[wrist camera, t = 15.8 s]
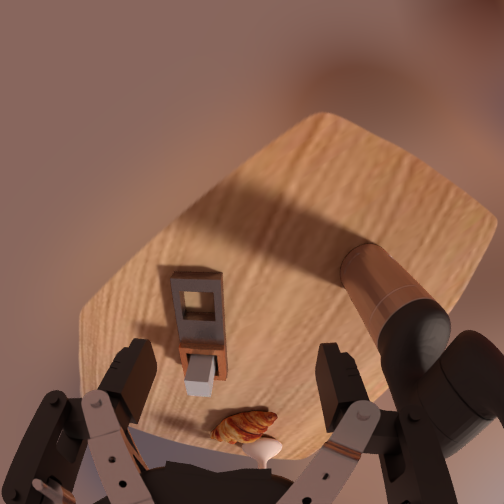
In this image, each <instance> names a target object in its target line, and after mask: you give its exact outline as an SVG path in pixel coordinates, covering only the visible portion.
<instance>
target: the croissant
mask: <svg viewBox="0 0 504 504" xmlns="http://www.w3.org/2000/svg"><path fill="white" fill-rule="evenodd" d="M277 418H278V417H277V415H276V414H275V413H273V412H261V411H251V412H247V413H245V412H244V413H239V414H237V415H233V416H230V417H228V418H225V419H224V420H223V421H222V422H221V424H219V425H218V426H217V427H216V429H214V430H213V431H212V432H211V434H210V438H211V439H215V440H217V441H220V442H221V441H225V442H228V443H230V444H235V443H236V442H237V441H238V442H240V443H252V442H255V441H256V440H258V439H259V438H260V437H261V436H262V434H263V432H265V431H266V430H267V428H268V426H270V425H272V424H273V423H274V421H275V420H276V419H277Z"/></svg>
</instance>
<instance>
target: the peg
mask: <svg viewBox="0 0 504 504" xmlns="http://www.w3.org/2000/svg"><path fill="white" fill-rule="evenodd" d="M216 362H217V355H203V354H191V357H190V361H189V365H188V368H187V372H186V375H185V379H184V382H185V386H186V390H187V394H188V395H192V396H204V397H211V392H212V386H213V380H214V374H215V368H216Z"/></svg>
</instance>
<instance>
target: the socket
mask: <svg viewBox="0 0 504 504" xmlns="http://www.w3.org/2000/svg"><path fill="white" fill-rule="evenodd" d="M170 281H171V288H172V295H173V302H174V308H175V315H176V321H177V327H178V332H179V338H180V345H179V353H180V358H181V362H182V367H183V371H184V376H185V375H186V372H187V368H188V365H189V361H190V357H191V354H203V355H217V359H218V362H216V368H215V374H214V380H224V381H226V378H227V373H228V364H227V349H226V332H225V314H224V295H223V273H212V272H175V271H174V273H173V275H172V276H171V278H170ZM184 291H190V292H214V305H215V313H205V312H186V306H185V299H184Z"/></svg>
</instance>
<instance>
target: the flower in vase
mask: <svg viewBox="0 0 504 504" xmlns="http://www.w3.org/2000/svg"><path fill="white" fill-rule="evenodd" d="M242 449H243V451H244V452H245V453H246V454H247V455H249V456H250V457H252V458H254V459H255V460H256V461H257V462H258V469H266V463H267V461H268V460H269V459H270V458H272V457H273V456H275V455H276V454H278V453H279V452H280V451H281V449H282V444H281V443H280V442H279V441H278V440H275V439H272V438H259V439H258V440H256V441H255V442H252V443H243V445H242Z"/></svg>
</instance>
